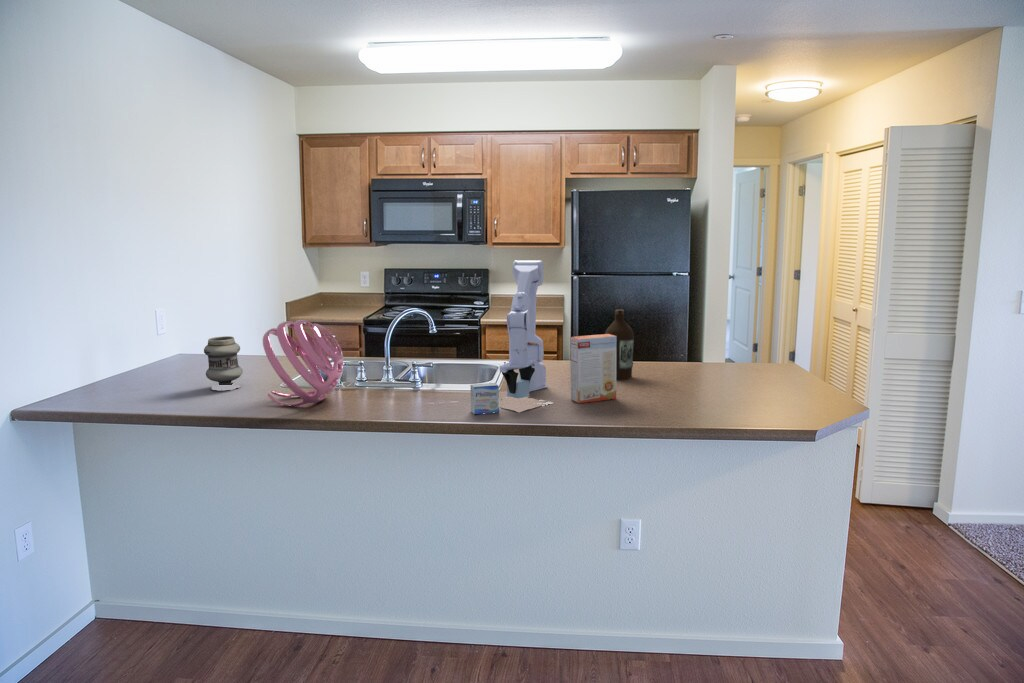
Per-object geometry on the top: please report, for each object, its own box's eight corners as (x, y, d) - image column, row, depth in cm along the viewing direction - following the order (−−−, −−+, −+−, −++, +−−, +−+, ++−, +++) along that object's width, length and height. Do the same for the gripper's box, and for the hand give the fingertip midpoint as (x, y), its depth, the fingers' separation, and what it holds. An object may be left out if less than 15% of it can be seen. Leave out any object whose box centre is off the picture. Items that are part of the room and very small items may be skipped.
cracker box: (607, 395, 236) (608, 333, 232) (616, 399, 230) (617, 335, 226) (569, 399, 231) (569, 335, 227) (577, 404, 225) (578, 338, 222)
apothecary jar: (199, 391, 247) (194, 339, 244) (223, 383, 259) (219, 334, 256) (227, 393, 244) (223, 341, 241) (251, 385, 255) (247, 336, 252)
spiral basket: (219, 348, 218) (291, 298, 216) (263, 353, 246) (327, 309, 244) (265, 425, 214) (338, 374, 212) (305, 422, 242) (370, 377, 240)
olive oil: (598, 376, 263) (598, 309, 259) (618, 373, 270) (619, 307, 265) (618, 382, 255) (619, 312, 251) (639, 378, 261) (640, 310, 257)
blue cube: (518, 393, 230) (517, 378, 229) (529, 396, 226) (529, 380, 225) (507, 396, 226) (506, 380, 225) (518, 398, 223) (518, 383, 222)
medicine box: (473, 415, 213) (473, 387, 212) (470, 411, 217) (470, 383, 216) (499, 413, 215) (499, 385, 214) (495, 409, 220) (495, 382, 218)
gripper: (510, 353, 216) (511, 397, 218) (543, 347, 226) (543, 389, 228) (494, 351, 221) (495, 393, 223) (527, 345, 231) (527, 386, 233)
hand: (518, 391), depth 226 cm, fingers closed on blue cube, 5 cm apart
